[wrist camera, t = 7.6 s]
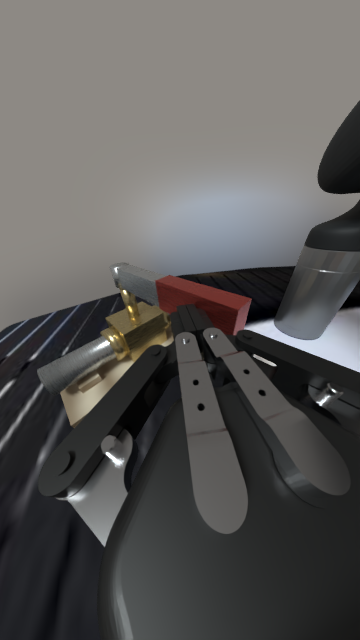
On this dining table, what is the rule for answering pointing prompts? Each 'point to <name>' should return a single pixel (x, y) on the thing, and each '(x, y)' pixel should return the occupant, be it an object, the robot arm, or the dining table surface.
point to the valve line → (110, 344)
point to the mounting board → (96, 386)
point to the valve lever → (184, 296)
